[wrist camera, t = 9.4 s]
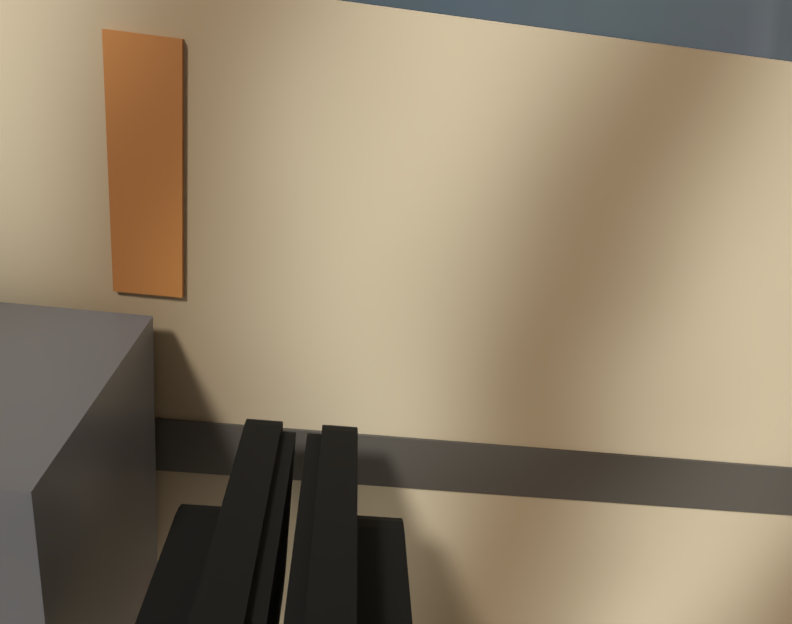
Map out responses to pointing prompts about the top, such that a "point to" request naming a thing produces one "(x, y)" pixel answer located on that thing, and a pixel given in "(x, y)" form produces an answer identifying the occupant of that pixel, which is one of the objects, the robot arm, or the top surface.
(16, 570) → the fader cap
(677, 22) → the top surface
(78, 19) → the fader panel
